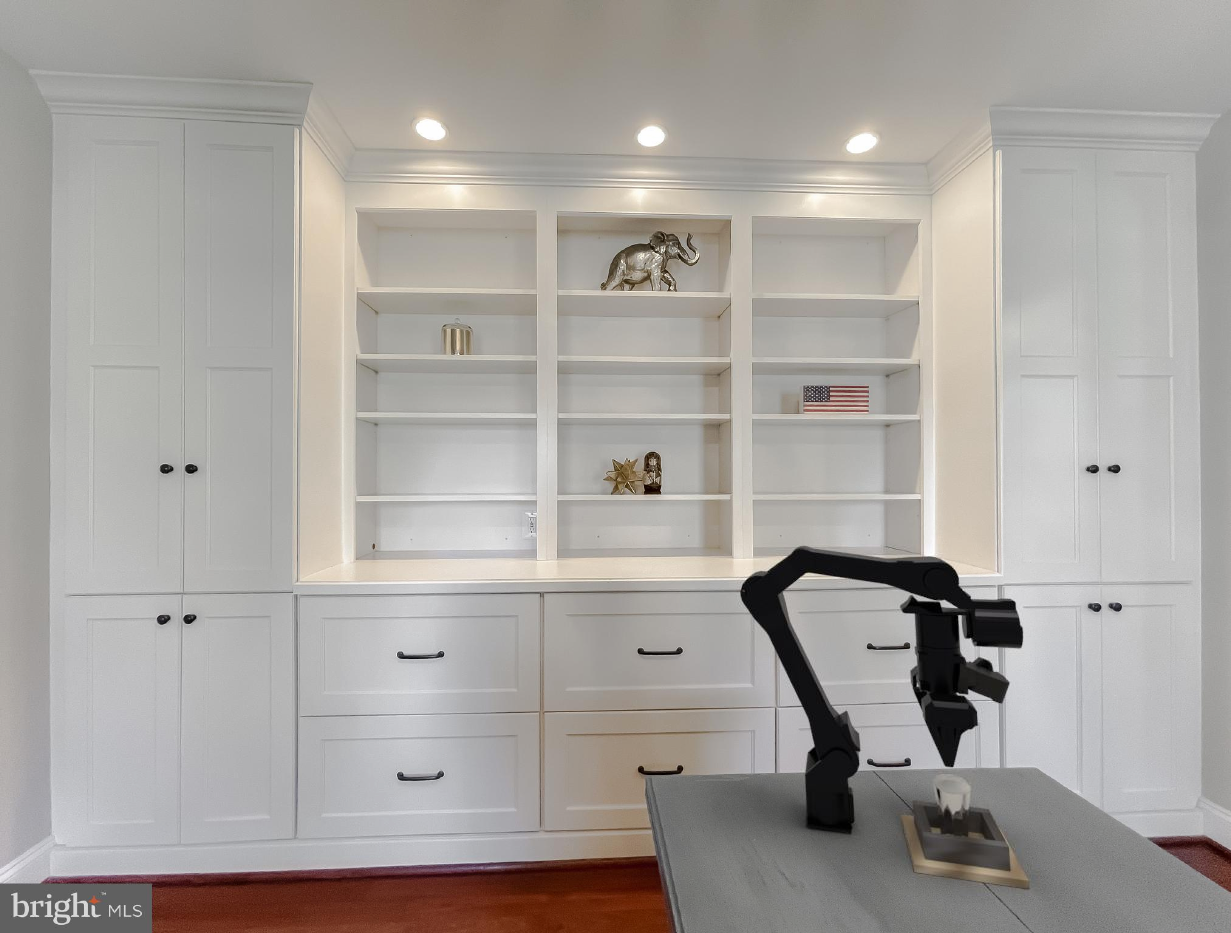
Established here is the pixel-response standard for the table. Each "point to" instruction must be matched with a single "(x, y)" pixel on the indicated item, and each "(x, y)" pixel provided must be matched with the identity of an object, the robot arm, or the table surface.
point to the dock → (961, 848)
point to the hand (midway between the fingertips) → (943, 753)
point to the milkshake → (953, 803)
